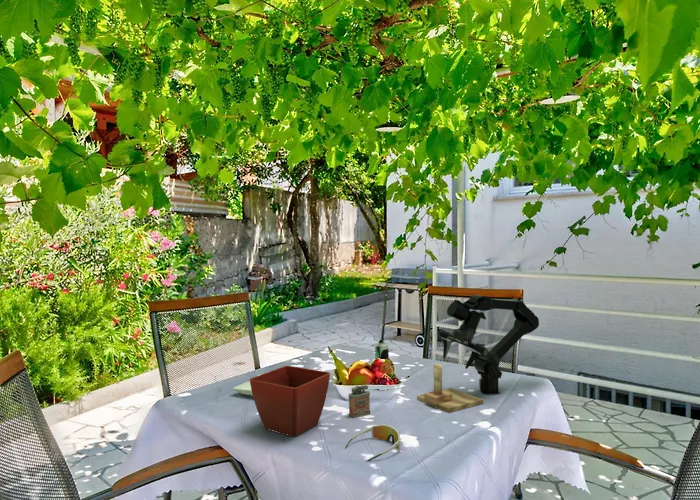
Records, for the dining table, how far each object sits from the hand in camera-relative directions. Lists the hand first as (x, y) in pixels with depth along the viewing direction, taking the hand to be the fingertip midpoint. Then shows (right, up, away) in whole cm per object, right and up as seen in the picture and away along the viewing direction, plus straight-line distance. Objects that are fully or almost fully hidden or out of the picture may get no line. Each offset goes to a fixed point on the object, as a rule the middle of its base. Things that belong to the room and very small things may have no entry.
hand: (454, 363), depth 184 cm
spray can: (-27, -13, +12) cm, 32 cm away
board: (-3, -13, -5) cm, 14 cm away
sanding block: (-8, -11, -8) cm, 16 cm away
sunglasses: (-33, -14, -45) cm, 57 cm away
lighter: (-37, -14, -17) cm, 43 cm away
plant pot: (-59, -14, -27) cm, 67 cm away
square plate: (-68, -14, +11) cm, 70 cm away
